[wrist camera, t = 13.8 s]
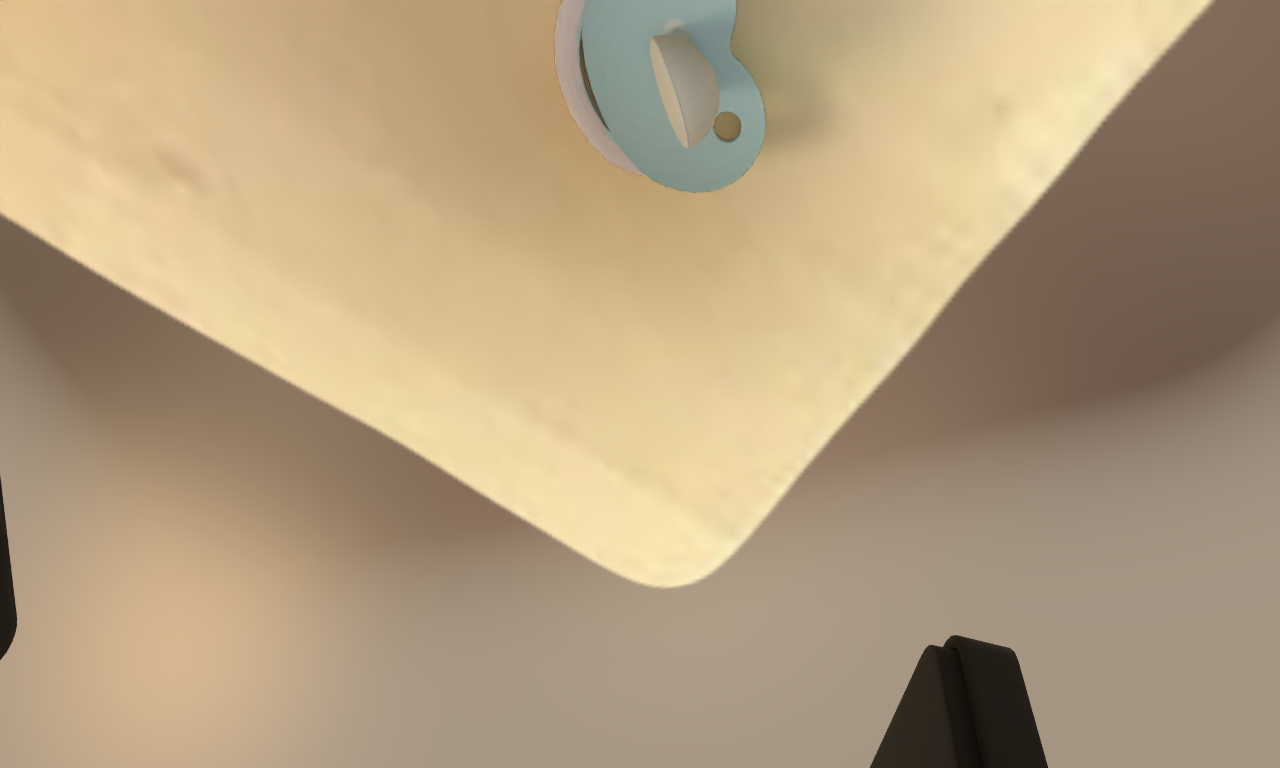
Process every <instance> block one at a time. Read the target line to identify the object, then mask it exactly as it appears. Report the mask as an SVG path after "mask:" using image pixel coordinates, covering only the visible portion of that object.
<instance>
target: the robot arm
mask: <svg viewBox="0 0 1280 768" xmlns="http://www.w3.org/2000/svg"><path fill="white" fill-rule="evenodd" d="M16 627H17V614H16V606H15V597H14V589H13V580H12V572H11V564H10V556H9V547H8V538H7V529H6V521H5V512H4V504H3V496H2V487H1V479H0V660H1V659H2V657H3V656H4V655H5V653H6V652H7V650H8V649H9V647H10V645H11V643H12V641H13V638H14V635H15V632H16ZM870 768H1048V765H1047V762H1046V759H1045V755H1044V751H1043V748H1042V744H1041V740H1040V737H1039V734H1038V730H1037V726H1036V723H1035V719H1034V715H1033V712H1032V709H1031V705H1030V701H1029V698H1028V694H1027V690H1026V687H1025V683H1024V679H1023V676H1022V672H1021V669H1020V665H1019V662H1018V659H1017V657H1016V654H1015V652H1014V651H1013V650H1012V649H1010V648H1007V647H1003V646H999V645H994V644H991V643H986V642H982V641H978V640H974V639H970V638H966V637H962V636H957V635H954V636H951V637H950V638H949V639H948V640H947V641H946V642H945V644H944V646H943V647H939V646H935V645H929V646H928V647H927V648H926V649H925V650H924V652H923V654H922V656H921V658H920V660H919V662H918V664H917V667H916V669H915V671H914V673H913V675H912V678H911V680H910V682H909V684H908V686H907V688H906V691H905V693H904V695H903V697H902V699H901V701H900V703H899V706H898V708H897V710H896V712H895V714H894V717H893V719H892V721H891V723H890V725H889V728H888V729H887V732H886V734H885V736H884V738H883V740H882V743H881V745H880V747H879V749H878V751H877V754H876V755H875V758H874V760H873V762H872V764H871V766H870Z"/></svg>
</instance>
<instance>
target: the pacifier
mask: <svg viewBox="0 0 1280 768" xmlns="http://www.w3.org/2000/svg"><path fill="white" fill-rule="evenodd" d="M735 19H736V0H562V3H561V5H560V8H559V11H558V13H557V18H556V26H555V35H554V50H555V64H556V71H557V74H558V78H559V82H560V86H561V90H562V94H563V97H564V99H565V101H566V104H567V106H568V108H569V110H570V113H571V115H572V117H573V120H574V121H575V123H576V124H577V126H578V127H579V129H580V130H581V132H582V133H583V135H584V136H585V138H586V139H587V141H588V142H589V143H590V144H591V145H592V146H593V147H594V148H595V149H596V150H597V151H598V152H599V153H600V154H601V155H602V156H603V157H604V158H605V159H606V160H608V161H609V162H611V163H612V164H614V165H616V166H617V167H619V168H620V169H622V170H624V171H627V172H631V173H634V174H638V175H641V176H642V175H646V176H648V177H649V178H650V179H652V180H653V181H655V182H657V183H660V184H662V185H664V186H666V187H671V188H674V189H677V190H680V191H687V192H693V193H695V192H709V191H713V190H718V189H721V188H723V187H725V186H728V185H730V184H732V183H733V182H735V181H736V180H737V179H739V178H740V177H741V176H743V175H744V174H745V173H746V171H747V170H748V169H749V168H750V167H751V166H752V165H753V163H754V161H755V159H756V158H757V156H758V154H759V152H760V149H761V146H762V143H763V140H764V135H765V129H766V119H765V109H764V103H763V100H762V97H761V94H760V91H759V89H758V87H757V85H756V83H755V81H754V79H753V77H752V76H751V75H750V73H749V72H748V71H747V69H746V68H745V67H744V65H743V64H742V63H740V62H739V61H738V60H737V59H736V58H735V57H734V56H733V54H732V52H731V49H730V38H731V36H732V33H733V30H734V25H735ZM582 44H583V49H582ZM583 51H584V60H585V65H586V69H587V73H588V77H589V80H590V84H591V87H592V91H593V94H594V96H595V99H596V102H597V104H598V106H597V104H596V102H595V99H594V97H593V95H592V92H591V90H590V88H589V85H588V81H587V77H586V73H585V69H584V62H583ZM722 112H732V113H734V114H735V115H737V117H738V118H739V120H740V122H741V131H740V133H739V135H738V136H737V137H736V138H734V139H732V140H725V139H722V138H721V137H719V136H718V135H717V133H716V132H715V129H714V123H715V120H716V118H717V116H718V115H719V114H720V113H722Z"/></svg>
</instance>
